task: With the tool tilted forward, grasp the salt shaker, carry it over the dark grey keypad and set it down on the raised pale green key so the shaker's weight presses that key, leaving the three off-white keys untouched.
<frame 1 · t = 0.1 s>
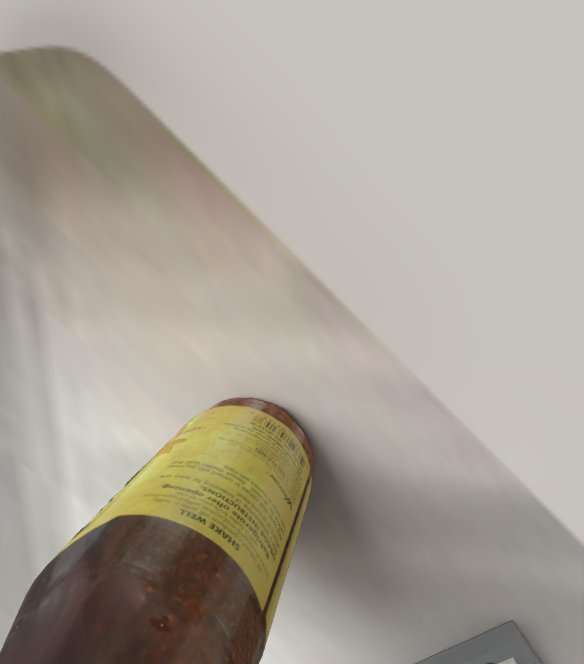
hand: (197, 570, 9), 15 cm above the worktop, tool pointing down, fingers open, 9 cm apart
sauce bottle: (252, 459, 25), on the worktop
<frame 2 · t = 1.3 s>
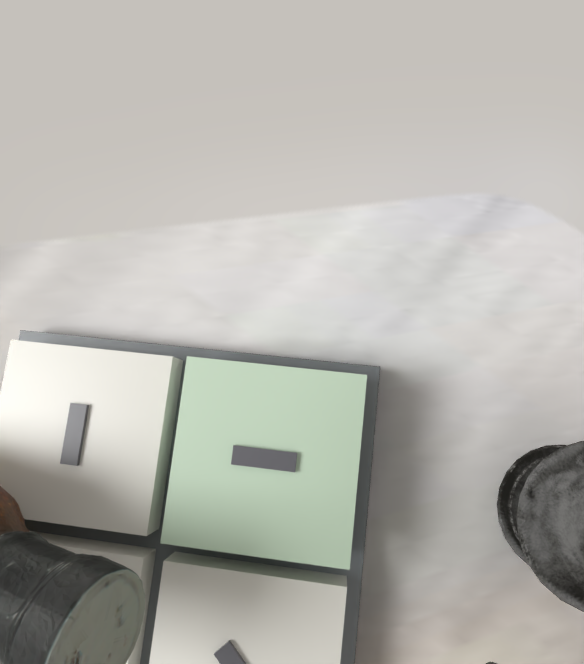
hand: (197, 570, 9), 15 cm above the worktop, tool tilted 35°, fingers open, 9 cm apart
green key: (268, 456, 22), point 2 cm above the worktop, slide at -0.2 cm
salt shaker: (561, 509, 23), on the worktop
keypad board: (175, 534, 23), on the worktop
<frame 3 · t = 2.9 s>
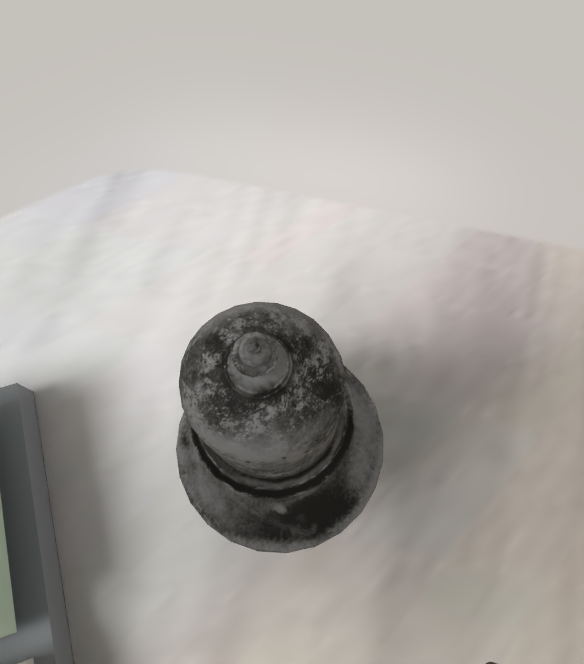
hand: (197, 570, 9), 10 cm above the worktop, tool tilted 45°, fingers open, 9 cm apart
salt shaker: (284, 458, 19), on the worktop
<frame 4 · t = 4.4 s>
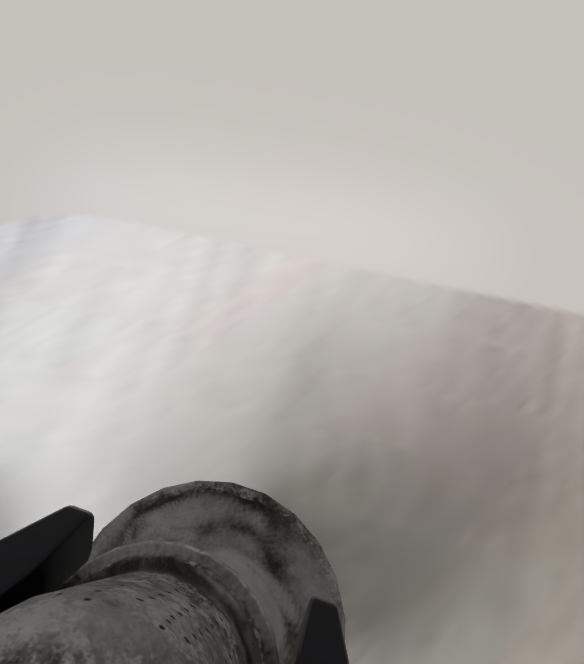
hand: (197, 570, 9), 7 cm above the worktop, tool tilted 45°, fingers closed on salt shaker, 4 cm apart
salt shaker: (225, 605, 15), on the worktop, touching gripper
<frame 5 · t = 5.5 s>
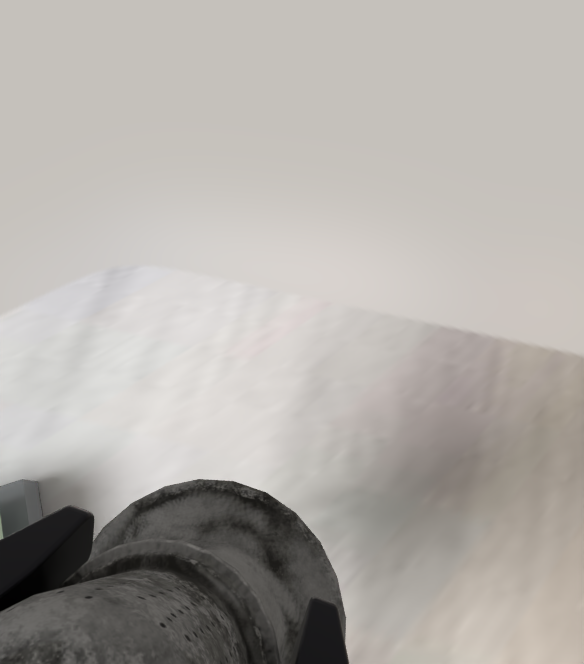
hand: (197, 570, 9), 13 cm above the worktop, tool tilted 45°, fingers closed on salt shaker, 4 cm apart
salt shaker: (226, 603, 15), point 6 cm above the worktop, touching gripper
when the fingers open (11 cm above the worktop, at t = 6.9 s): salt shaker drops 1 cm, resting on green key.
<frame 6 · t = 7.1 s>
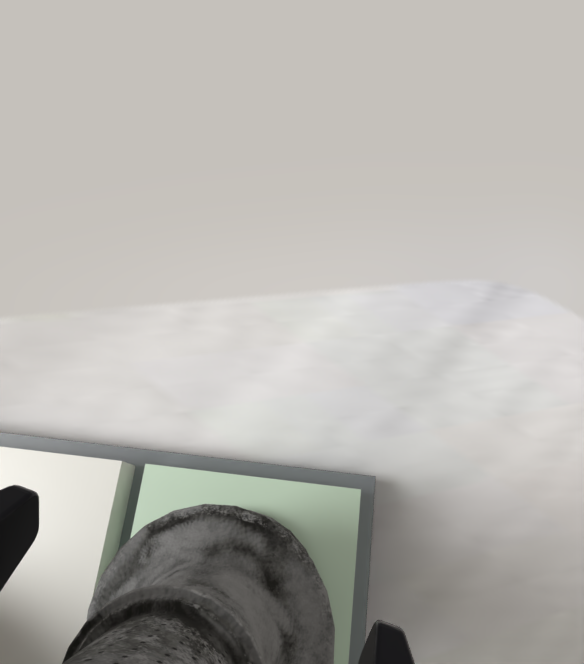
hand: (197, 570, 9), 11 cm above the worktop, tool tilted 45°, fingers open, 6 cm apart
green key: (240, 591, 17), point 2 cm above the worktop, slide at -0.9 cm, touching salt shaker
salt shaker: (233, 601, 16), point 3 cm above the worktop, touching green key
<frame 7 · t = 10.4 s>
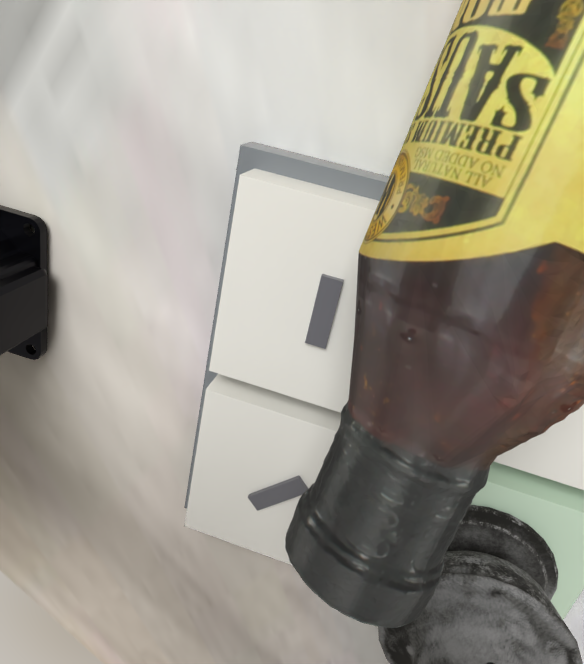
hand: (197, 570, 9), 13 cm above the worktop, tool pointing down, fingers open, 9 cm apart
green key: (478, 537, 21), point 2 cm above the worktop, slide at -0.9 cm, touching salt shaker
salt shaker: (477, 560, 20), point 3 cm above the worktop, touching green key
keypad board: (411, 404, 21), on the worktop
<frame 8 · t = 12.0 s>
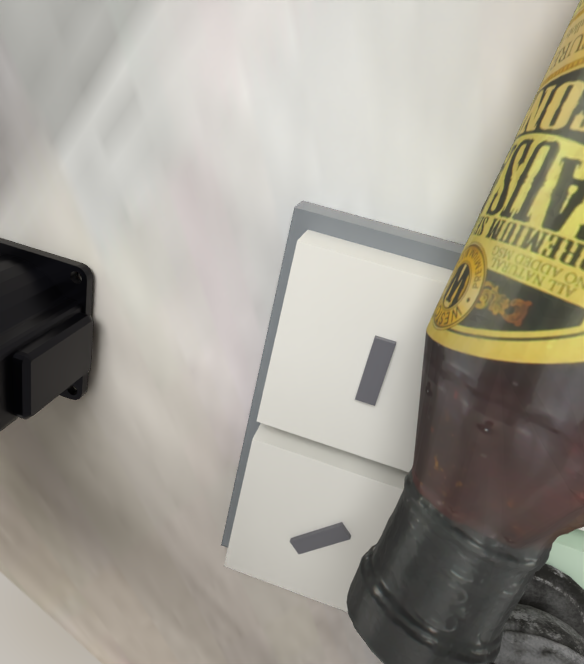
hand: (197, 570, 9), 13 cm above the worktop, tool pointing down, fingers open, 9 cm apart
green key: (515, 582, 21), point 2 cm above the worktop, slide at -0.9 cm, touching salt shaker
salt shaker: (516, 607, 20), point 3 cm above the worktop, touching green key
keypad board: (450, 451, 22), on the worktop
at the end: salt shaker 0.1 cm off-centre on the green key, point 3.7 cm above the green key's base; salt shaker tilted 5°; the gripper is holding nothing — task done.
